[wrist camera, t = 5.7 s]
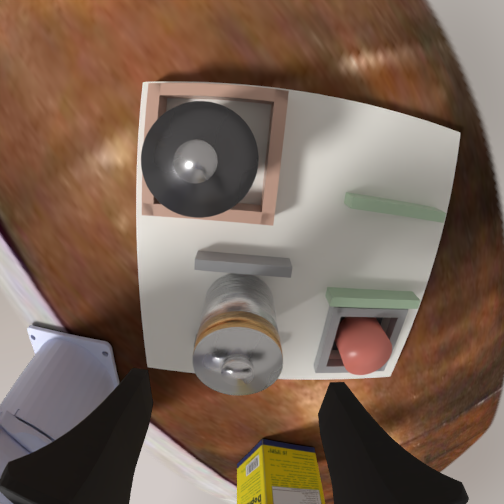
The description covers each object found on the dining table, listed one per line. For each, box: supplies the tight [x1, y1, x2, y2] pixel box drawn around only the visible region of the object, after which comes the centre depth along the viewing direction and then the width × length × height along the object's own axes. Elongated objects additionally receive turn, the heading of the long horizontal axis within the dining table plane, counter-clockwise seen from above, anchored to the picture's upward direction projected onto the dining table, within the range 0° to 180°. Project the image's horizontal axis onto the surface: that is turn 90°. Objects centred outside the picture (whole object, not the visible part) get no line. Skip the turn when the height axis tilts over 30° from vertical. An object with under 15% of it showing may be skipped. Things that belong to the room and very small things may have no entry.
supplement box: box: [237, 439, 325, 504], centre depth 22 cm, size 6×6×11 cm
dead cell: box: [141, 101, 259, 218], centre depth 12 cm, size 4×4×6 cm
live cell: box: [192, 273, 283, 395], centre depth 15 cm, size 4×4×6 cm
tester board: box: [136, 81, 460, 379], centre depth 17 cm, size 18×18×3 cm
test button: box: [334, 317, 392, 375], centre depth 19 cm, size 3×3×3 cm
